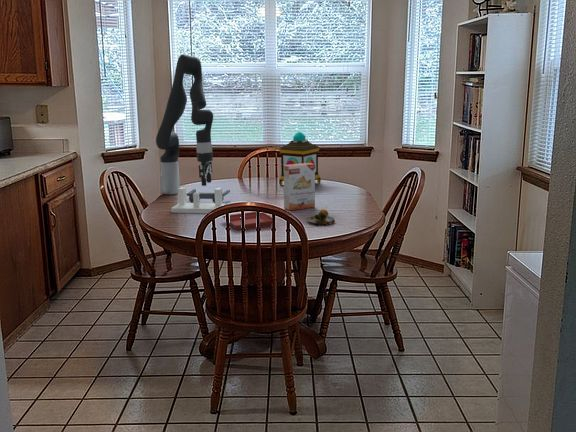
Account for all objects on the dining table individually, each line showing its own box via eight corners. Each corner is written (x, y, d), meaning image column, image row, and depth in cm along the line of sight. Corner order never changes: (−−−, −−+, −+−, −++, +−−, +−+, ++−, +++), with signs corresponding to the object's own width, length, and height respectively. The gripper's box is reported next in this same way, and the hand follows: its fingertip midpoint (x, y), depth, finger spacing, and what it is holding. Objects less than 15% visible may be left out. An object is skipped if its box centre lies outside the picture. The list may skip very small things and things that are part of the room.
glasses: (187, 203, 294) (186, 193, 292) (194, 198, 304) (193, 189, 303) (224, 204, 290) (223, 194, 289) (230, 199, 301) (229, 189, 300)
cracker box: (289, 211, 273) (288, 166, 268) (283, 208, 278) (282, 164, 273) (315, 207, 279) (315, 163, 274) (309, 205, 284) (309, 162, 279)
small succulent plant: (310, 219, 259) (310, 202, 257) (337, 220, 256) (337, 203, 254) (303, 225, 248) (303, 208, 246) (331, 227, 244) (331, 209, 243)
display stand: (171, 212, 275) (169, 191, 273) (180, 206, 287) (178, 186, 284) (218, 213, 271) (217, 192, 269) (225, 207, 283) (225, 187, 280)
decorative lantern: (295, 180, 351) (295, 129, 344) (324, 183, 340) (323, 130, 333) (275, 185, 335) (274, 132, 328) (304, 189, 324) (303, 134, 317)
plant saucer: (235, 232, 239) (235, 224, 239) (222, 222, 256) (221, 215, 255) (276, 227, 246) (276, 219, 246) (261, 218, 263) (261, 210, 262)
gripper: (201, 149, 295) (203, 181, 299) (192, 153, 281) (194, 186, 285) (215, 149, 294) (217, 181, 298) (207, 153, 280) (209, 186, 284)
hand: (206, 184), depth 291 cm, fingers open, 8 cm apart
